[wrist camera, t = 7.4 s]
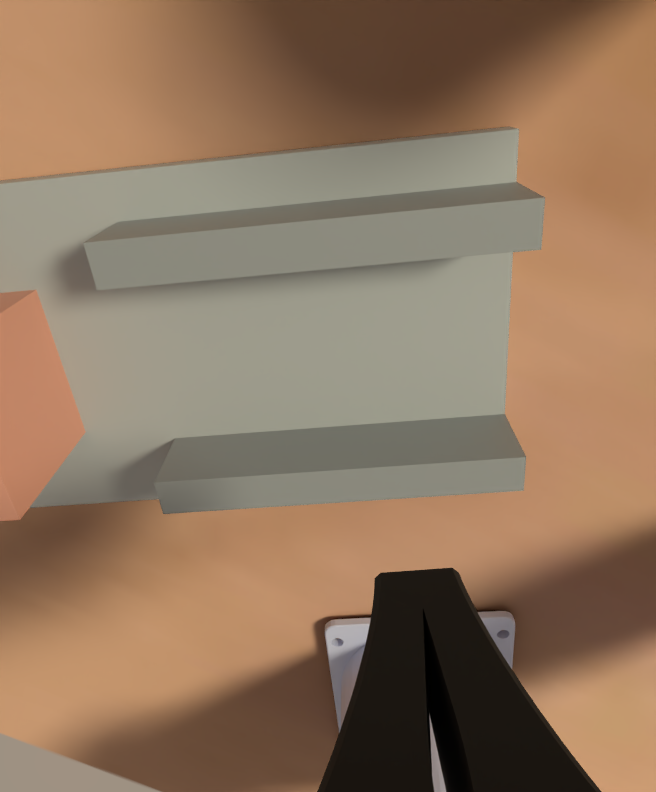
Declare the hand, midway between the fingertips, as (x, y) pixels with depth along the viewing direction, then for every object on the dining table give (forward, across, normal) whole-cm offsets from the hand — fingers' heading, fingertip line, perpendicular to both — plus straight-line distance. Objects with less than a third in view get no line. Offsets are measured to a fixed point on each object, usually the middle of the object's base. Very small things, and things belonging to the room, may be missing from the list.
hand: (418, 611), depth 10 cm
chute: (+10, +7, -2) cm, 13 cm away
